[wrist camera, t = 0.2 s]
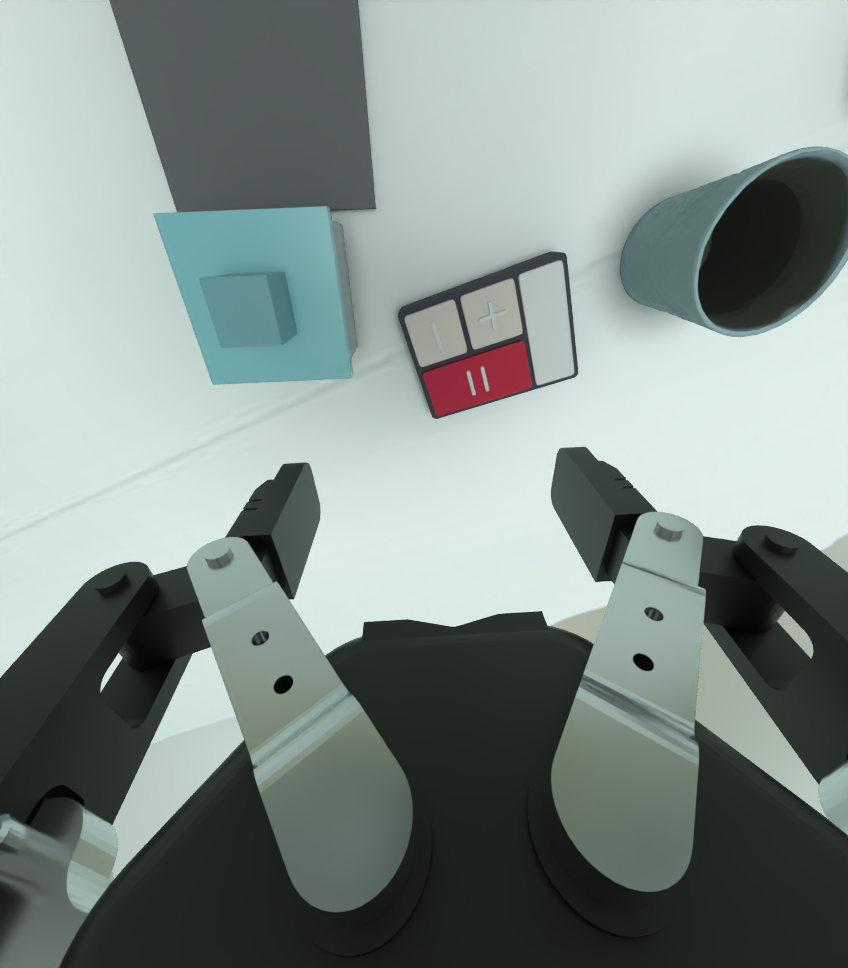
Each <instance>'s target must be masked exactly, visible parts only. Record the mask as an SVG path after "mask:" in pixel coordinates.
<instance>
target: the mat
mask: <svg viewBox="0 0 848 968" xmlns="http://www.w3.org/2000/svg"><path fill="white" fill-rule="evenodd" d="M109 1H110V4H111V7H112V10H113V13H114V16H115V19H116V23H117V26H118V29H119V32H120V35H121V38H122V41H123V44H124V48H125V51H126V54H127V57H128V60H129V63H130V66H131V69H132V72H133V76H134V79H135V82H136V85H137V88H138V91H139V94H140V97H141V101H142V104H143V107H144V110H145V113H146V116H147V119H148V122H149V126H150V129H151V132H152V135H153V138H154V141H155V144H156V147H157V151H158V154H159V157H160V160H161V163H162V166H163V169H164V172H165V176H166V179H167V182H168V185H169V188H170V191H171V194H172V197H173V201H174V204H175V207H176V210H177V212H201V211H226V210H250V209H274V208H299V207H323V206H327V207H329V208H330V211H333V210H357V209H376V207H375V195H374V184H373V172H372V160H371V149H370V137H369V125H368V114H367V102H366V90H365V79H364V67H363V55H362V44H361V32H360V20H359V9H358V0H109Z"/></svg>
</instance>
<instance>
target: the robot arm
mask: <svg viewBox="0 0 848 968" xmlns="http://www.w3.org/2000/svg"><path fill="white" fill-rule="evenodd" d="M551 500H552V504H553V507H554V509H555V511H556V513H557V514H558V516H559V518H560V520H561V522H562V523H563V525H564V527H565V529H566V530H567V532H568V534H569V536H570V538H571V539H572V541H573V543H574V545H575V547H576V548H577V550H578V552H579V554H580V555H581V557H582V559H583V561H584V563H585V564H586V566H587V568H588V570H589V571H590V573H591V575H592V577H593V579H594V580H595V582H602V581H612V582H613V583H614V588H613V591H612V593H611V596H610V599H609V602H608V605H607V608H606V611H605V614H604V616H603V619H602V622H601V625H600V628H599V631H598V634H597V637H596V639H595V642H594V644H593V643H591V642H589V641H588V640H586V639H584V638H582V637H580V636H578V635H576V634H574V633H571V632H568V631H565V630H563V629H559V628H556V627H552V626H547V624H546V621H545V619H544V616H543V613H542V611H539V612H523V613H506V614H497V615H493V616H490V617H487V618H483V619H480V620H477V621H473V622H470V623H467V624H464V625H460V626H456V627H450V626H444V625H438V624H432V623H426V622H420V621H414V620H392V621H375V622H364V627H363V635H362V637H360V638H356V639H354V640H352V641H349V642H347V643H345V644H343V645H341V646H339V647H337V648H336V649H334V650H333V651H331V652H330V653H328V654H327V655H326V656H325V655H324V654H323V652H322V650H321V649H320V647H319V646H318V644H317V643H316V641H315V640H314V638H313V636H312V635H311V633H310V632H309V630H308V629H307V627H306V626H305V624H304V622H303V621H302V619H301V618H300V616H299V615H298V613H297V612H296V610H295V608H294V607H293V605H292V604H291V602H290V601H289V599H294V598H295V595H296V592H297V589H298V586H299V582H300V579H301V576H302V573H303V570H304V567H305V564H306V561H307V558H308V555H309V552H310V549H311V546H312V542H313V539H314V536H315V533H316V530H317V527H318V524H319V521H320V503H319V498H318V494H317V490H316V486H315V482H314V478H313V474H312V470H311V467H310V465H309V463H291V464H283V465H282V467H281V468H280V470H279V472H278V473H277V475H276V477H275V479H274V480H267V481H266V482H265V483H263V484H262V485H261V486H259V487H258V488H257V489H255V491H254V493H253V494H252V496H251V497H250V499H249V502H247V504H246V505H245V507H244V508H243V509H244V511H242V512H241V513H240V515H239V516H238V518H237V519H236V521H235V523H234V524H233V526H232V527H231V529H230V531H229V532H228V534H227V535H226V537H225V538H222V539H218V540H215V541H213V542H211V543H208V544H206V545H205V546H203V547H201V548H200V549H199V550H197V551H196V552H195V553H194V554H193V555H192V556H191V558H190V559H189V561H188V563H187V566H186V567H182V568H179V569H175V570H171V571H168V572H164V573H160V574H157V575H153V574H152V572H151V571H150V569H149V568H148V566H147V565H146V564H144V563H141V562H128V563H123V564H119V565H116V566H113V567H111V568H108V569H106V570H104V571H102V572H100V573H99V574H97V575H95V576H94V577H92V578H91V579H90V580H88V581H87V582H86V583H85V584H84V585H83V586H82V587H81V588H80V589H79V590H78V591H77V592H76V593H75V595H74V596H73V597H72V598H71V599H70V600H69V601H68V602H67V604H66V605H65V606H64V607H63V608H62V609H61V610H60V611H59V613H58V614H57V615H56V616H55V617H54V618H53V619H52V620H51V622H50V623H49V624H48V625H47V626H46V627H45V628H44V629H43V631H42V632H41V633H40V634H39V635H38V636H37V637H36V638H35V640H34V641H33V642H32V643H31V644H30V645H29V646H28V647H27V649H26V650H25V651H24V652H23V653H22V654H21V655H20V656H19V658H18V659H17V660H16V661H15V662H14V663H13V664H12V665H11V666H10V668H9V669H8V670H7V671H6V672H5V673H4V674H3V675H2V677H1V678H0V968H848V572H846V571H845V570H844V569H842V568H841V567H840V566H839V565H837V564H836V563H835V562H833V561H832V560H831V559H830V558H829V557H827V556H826V555H825V554H823V553H822V552H821V551H820V550H818V549H817V548H816V547H815V546H813V545H812V544H811V543H809V542H808V541H806V540H805V539H803V538H801V537H799V536H797V535H795V534H793V533H790V532H788V531H785V530H782V529H778V528H775V527H769V526H759V525H757V526H749V527H747V528H745V529H744V530H743V531H742V533H741V534H740V536H739V538H738V540H737V541H732V540H725V539H718V538H711V537H704V536H703V535H702V533H701V531H700V530H699V529H698V528H697V527H696V526H695V525H694V524H693V523H691V522H689V521H688V520H686V519H684V518H682V517H679V516H676V515H673V514H669V513H664V512H657V511H656V510H655V509H654V507H653V506H652V505H651V504H650V503H649V502H648V501H647V500H646V499H645V498H644V497H643V496H642V495H641V494H640V493H639V492H638V491H637V490H636V488H633V485H632V484H631V483H630V482H629V481H628V480H626V478H625V477H624V476H623V475H622V474H621V473H620V472H619V471H618V469H616V468H615V467H613V466H611V465H609V464H607V463H606V462H604V461H598V460H597V459H596V458H595V457H594V456H593V454H592V453H591V452H590V451H589V450H588V449H587V448H586V447H571V448H560V449H559V451H558V453H557V458H556V464H555V470H554V475H553V481H552V487H551ZM784 611H786V612H787V613H788V614H789V615H790V616H791V617H792V618H793V619H794V620H795V621H796V622H797V623H798V624H799V626H800V627H801V628H802V629H803V630H804V631H805V632H806V633H807V634H808V636H809V637H810V639H811V641H812V644H813V650H814V652H813V656H812V658H811V659H810V657H809V656H808V655H807V654H806V653H805V652H804V651H803V650H802V648H801V647H800V646H799V645H798V644H797V643H796V642H795V641H794V640H793V639H792V638H791V637H790V635H789V634H788V633H787V632H786V631H785V630H784V629H783V628H782V627H781V625H779V623H778V622H777V621H778V619H779V618H780V616H781V615H782V614H783V612H784ZM703 623H704V625H705V626H706V627H707V629H708V630H709V632H710V633H711V634H712V636H713V637H714V639H715V640H716V641H717V643H718V644H719V646H720V647H721V648H722V650H723V651H724V653H725V654H726V655H727V657H728V658H729V660H730V661H731V662H732V664H733V665H734V667H735V668H736V669H737V671H738V672H739V674H740V675H741V676H742V678H743V679H744V681H745V682H746V683H747V685H748V686H749V687H750V689H751V690H752V692H753V693H754V695H755V696H756V697H757V699H758V700H759V701H760V703H761V704H762V706H763V707H764V709H765V710H766V711H767V713H768V714H769V715H770V717H771V718H772V720H773V721H774V722H775V724H776V725H777V726H778V728H779V730H780V731H781V732H782V734H783V735H784V737H785V738H786V739H787V741H788V742H789V744H790V745H791V746H792V748H793V749H794V751H795V752H796V753H797V755H798V756H799V758H800V759H801V760H802V762H803V763H804V764H805V766H806V767H807V769H808V770H809V772H810V773H811V774H812V776H813V777H814V779H815V780H816V781H817V783H818V784H819V789H818V794H819V799H820V803H821V806H822V808H823V811H824V813H825V815H826V816H827V818H828V819H827V818H826V817H824V816H823V815H822V814H820V813H819V812H818V811H816V810H815V809H813V808H812V807H811V806H810V805H808V804H807V803H806V802H804V801H803V800H802V799H800V798H799V797H798V796H796V795H795V794H794V793H792V792H791V791H790V790H788V789H787V788H786V787H784V786H783V785H782V784H780V783H779V782H778V781H776V780H775V779H774V778H772V777H771V776H770V775H768V774H767V773H765V772H764V771H763V770H762V769H760V768H759V767H758V766H756V765H755V764H754V763H752V762H751V761H750V760H748V759H747V758H746V757H744V756H743V755H742V754H740V753H739V752H737V751H736V750H735V749H734V748H732V747H731V746H730V745H728V744H727V743H726V742H724V741H723V740H722V739H720V738H719V737H718V736H716V735H715V734H713V733H712V732H711V731H710V730H708V729H707V728H706V727H704V726H703V725H702V724H700V723H699V722H698V721H696V720H695V713H696V701H697V691H698V679H699V666H700V656H701V645H702V634H703ZM209 647H211V648H212V651H213V653H214V656H215V659H216V662H217V665H218V667H219V670H220V673H221V676H222V679H223V681H224V684H225V687H226V690H227V692H228V695H229V698H230V701H231V704H232V706H233V709H234V712H235V715H236V718H237V720H238V723H239V726H240V729H241V732H242V734H243V737H244V741H243V742H242V743H241V744H240V745H239V746H238V747H237V748H236V749H235V750H234V751H233V752H232V753H231V754H230V755H229V757H228V758H227V759H226V760H225V761H224V762H223V763H222V764H221V765H220V766H219V767H218V768H217V769H216V770H215V771H214V772H213V774H212V775H211V776H210V777H209V778H208V779H207V780H206V781H205V782H204V783H203V784H202V785H201V786H200V787H199V788H198V790H197V791H196V792H195V793H194V794H193V795H192V796H191V797H190V798H189V799H188V800H187V801H186V802H185V804H183V806H182V807H181V808H180V809H179V810H178V811H177V812H176V813H175V814H174V815H173V816H172V817H171V818H170V819H169V820H168V821H167V823H166V824H165V825H164V826H163V827H162V828H161V829H160V830H159V831H158V832H157V833H156V834H155V835H154V836H153V838H151V840H150V841H149V842H148V843H147V844H146V845H145V846H144V847H143V848H142V849H141V850H140V851H139V852H138V853H137V855H136V856H135V857H134V858H133V859H132V860H131V861H130V862H129V863H128V864H127V865H126V866H125V867H124V869H123V870H122V871H121V872H120V873H119V874H118V875H117V877H116V878H115V879H114V880H113V872H112V869H113V866H114V863H115V860H116V856H117V850H118V838H117V833H116V831H115V828H114V827H113V826H112V825H113V822H114V820H115V818H116V816H117V814H118V811H119V809H120V807H121V805H122V803H123V801H124V799H125V797H126V794H127V793H128V790H129V788H130V786H131V784H132V782H133V780H134V778H135V775H136V773H137V771H138V769H139V767H140V765H141V763H142V760H143V758H144V756H145V754H146V752H147V749H148V748H149V746H150V743H151V741H152V739H153V737H154V735H155V733H156V731H157V728H158V726H159V724H160V722H161V720H162V718H163V716H164V713H165V711H166V709H167V707H168V705H169V703H170V701H171V699H172V696H173V694H174V692H175V690H176V688H177V686H178V684H179V681H180V679H181V677H182V675H183V673H184V671H185V669H186V666H187V664H188V662H189V660H190V658H191V656H192V654H193V653H195V652H198V651H201V650H203V649H206V648H209ZM118 653H120V655H121V656H122V657H123V658H122V660H121V662H120V663H119V665H118V666H117V668H116V669H115V671H114V673H113V674H112V676H111V677H110V679H109V681H108V682H107V684H106V685H105V687H104V688H103V690H102V692H101V693H100V687H101V682H102V679H103V677H104V674H105V673H106V671H107V670H108V668H109V666H110V665H111V663H112V662H113V660H114V659H115V657H116V656H117V654H118Z"/></svg>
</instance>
